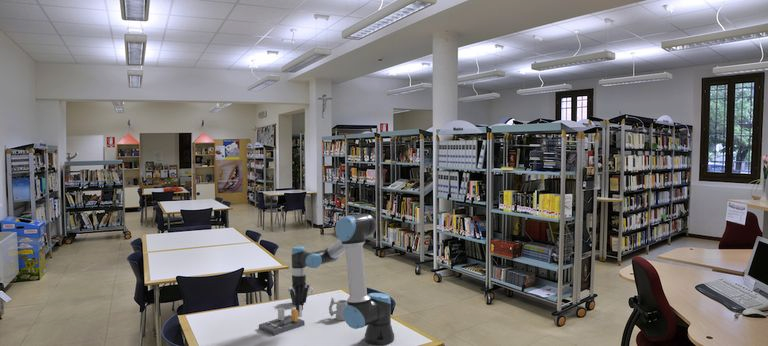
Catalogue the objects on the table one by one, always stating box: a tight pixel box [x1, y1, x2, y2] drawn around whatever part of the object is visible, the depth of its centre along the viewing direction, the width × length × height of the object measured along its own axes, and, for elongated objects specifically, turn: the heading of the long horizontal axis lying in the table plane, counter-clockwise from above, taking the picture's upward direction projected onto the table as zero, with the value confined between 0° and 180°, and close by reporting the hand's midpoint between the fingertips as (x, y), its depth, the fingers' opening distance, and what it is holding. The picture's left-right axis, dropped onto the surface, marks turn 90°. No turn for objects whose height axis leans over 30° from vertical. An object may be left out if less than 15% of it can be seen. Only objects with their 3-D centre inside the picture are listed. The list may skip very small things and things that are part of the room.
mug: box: [328, 297, 347, 322], centre depth 270 cm, size 8×12×12 cm, turn 83°
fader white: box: [277, 307, 285, 321], centre depth 261 cm, size 4×2×6 cm, turn 47°
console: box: [258, 314, 305, 337], centre depth 257 cm, size 14×20×3 cm
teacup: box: [289, 286, 314, 298], centre depth 297 cm, size 12×15×10 cm
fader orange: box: [290, 308, 299, 322], centre depth 259 cm, size 4×2×6 cm, turn 47°
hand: (299, 316), depth 261 cm, fingers closed
